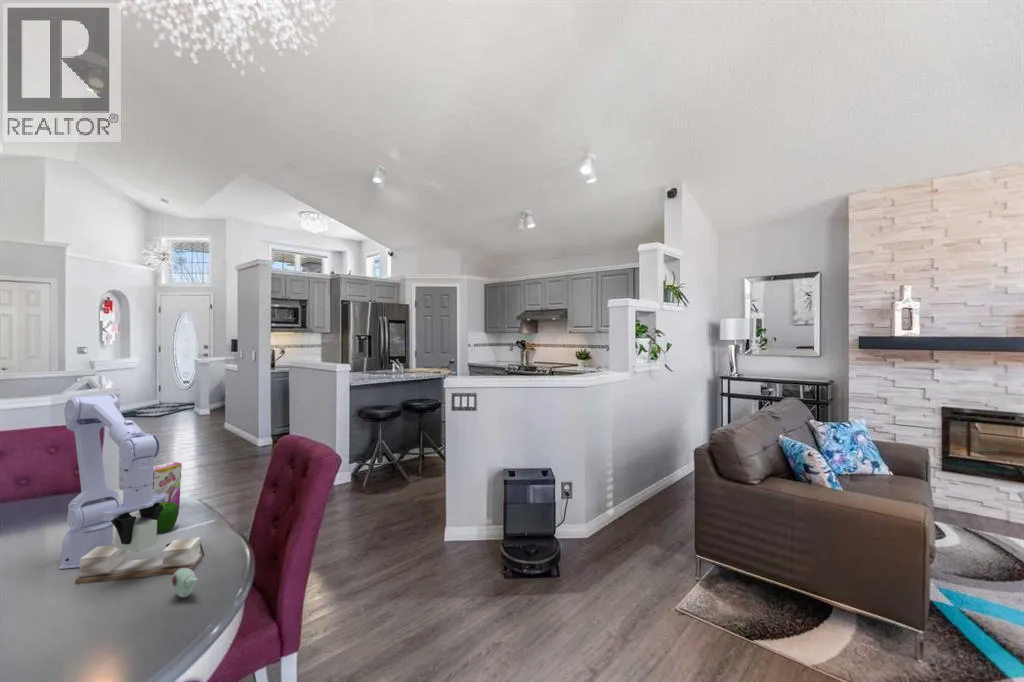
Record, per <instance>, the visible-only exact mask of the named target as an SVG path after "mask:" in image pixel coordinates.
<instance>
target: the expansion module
mask: <svg viewBox="0 0 1024 682" xmlns="http://www.w3.org/2000/svg"><path fill="white" fill-rule="evenodd" d="M115 530H116V534H115V545H116V548H117V549H124V550H125V551H132V552H141V551H143V550H146V549H148V548H150V547H152V546H154V545H157V533H158V532H157V520H152V519H151V518H146V517H140V518H139V517H136V520H135V522H134V525H133V530H132V540H131V543H130V544H128V545H126V544H121V540H120V537H119V534H118V531H117V529H116V528H115Z"/></svg>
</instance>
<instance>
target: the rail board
mask: <svg viewBox="0 0 1024 682" xmlns="http://www.w3.org/2000/svg"><path fill="white" fill-rule="evenodd" d="M200 542H201V537H189V538H181V539H179V538H178V539H174V540H172V542H170V543H171V544H170V545H169V546H167V547H166V546H165V548H164V549H163V550H162V557H154V558H153V557H152V558H142V559H133V560H126V558H125V557H126V550H124V549H117V548H116V544H112V545H110V546H99V547H96V548H95V549H93V550H92V551H90V552H89V553H88V554H86V555H85V556H83V557H82V558H80V567H79V577H78V578H76V579H75V582H74V584H75V585H80V584H81V583H82V584H90V583H100V582H107V581H109V582H110V581H118V580H126V579H136V578H144V577H153V576H154V577H155V576H164V575H174V574H175V572H176V571H177V570H179V569H181V568H188V569H191V570H192V571H193V570H194V569H195V568H194V567H197V566H198V564H199V563H200V562H201V560H202V559H203V558H204V557H203V554H199V553H200ZM202 557H203V558H202ZM201 558H202V559H201ZM199 561H200V562H199ZM198 562H199V563H198ZM82 584H81V585H82Z"/></svg>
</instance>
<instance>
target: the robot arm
mask: <svg viewBox="0 0 1024 682" xmlns="http://www.w3.org/2000/svg"><path fill="white" fill-rule="evenodd" d="M63 409H64V419H65V426H66V430H69V431H72V432H73V434H74V439H75V440H74V441H75V447H76V456H77V457H76V458H77V464H78V465H77V466H78V472H79V475H78V476H79V482H80V493H79V494H78V495H77V496H75V497H74V498H73V499H71V501H70V502H69V503H68V507H67V508H68V512H67V520H66V521H67V526H68V528H69V529H68V531H66V533H65V534H64V536H63V539H62V543H61V556H60V557H61V558H60V559H61V563H60V566H59V567H58V569H59V570H63V569H64V570H65V569H73V568H74V569H75V568H80V558H82V557H83V556H85V555H86V554H88V553H89V552H90V551H92V550H93V549H95V548H96V547H99V546H110V545H113V537H114V536H113V535H114V533H113V532H114V528H115V530H116V529H117V531H118V534H119V537H120V540H121V544H126V545H128V544H130V543H131V540H132V530H133V525H134V522H135V520H136V518H137V516H135V515H132V514H131V513H135V512H137V511H138V512H140V516H141V517H146V518H151V519H152V520H157V518H158V516H159V514H160V513H161V511H162V510H163V505H159V503H162V502H167V501H168V497H169V494H164V493H162V494H159V495H155V496H153V472H154V466H155V465H154V464H155V458H156V457H157V456H158V455H159V453H160V450H161V445H160V440H159V438H158V436H157V435H156V434H154V433H152V434H150V433H146V432H144V431H143V430H142V428H140V426H138V424H137V423H135V421H134V420H132V419H125V417H124V415H123V414H122V412H121V411H120V400H119V398H118V397H117V396H116V395H115V394H112V393H111V394H105V395H94V396H93V395H91V396H71V397H69V398H68V400H67V401H66V403H65V406H64V408H63ZM105 427H107V428H108V429H109V430H108V435H109V436H108V437H110V439H111V440H112V441H113V442H114V443H115V444H116V445H117V446H118V447H119V449H118V450H119V451H118V453H119V457H120V460H121V468H122V469H124V470H123V487H122V488H123V490H122V492H123V493H122V501H121V499H120V497H119V495H120V494H119V493H118V491H116V490H115V489H111V488H109V487H107V483H106V475H105V470H104V469H105V468H104V460H103V452H102V451H103V450H102V444H101V436H100V435H101V434H100V432H101V429H102V428H105ZM85 503H86V504H85Z"/></svg>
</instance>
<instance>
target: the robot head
mask: <svg viewBox="0 0 1024 682" xmlns="http://www.w3.org/2000/svg"><path fill="white" fill-rule="evenodd" d="M172 575H173V576H172V577H171V578H172V579H171V583H172V584H171V585H172V589H173V591H174V593H175V594H176V595H177V596H179V597H180V598H187V597H188V596H190V594H191V593H192V590H193V589H194V585H195V584H196V583H197V582H198V580H199V579H198V578H197V577H196V573H195V572H194V571H193V570H191V569H188V568H181V569H179V570H177V571H176V572H175V574H172Z"/></svg>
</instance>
